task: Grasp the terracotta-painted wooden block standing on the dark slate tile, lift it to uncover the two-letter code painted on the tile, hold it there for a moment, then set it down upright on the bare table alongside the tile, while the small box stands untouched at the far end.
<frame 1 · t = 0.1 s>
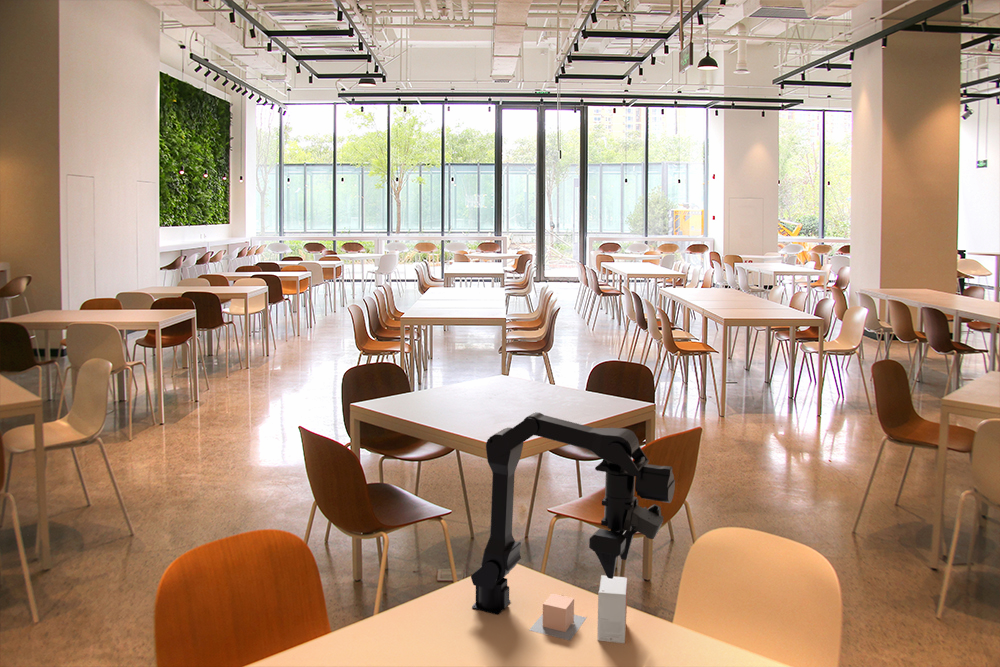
hand: (617, 568, 154), 15 cm above the table, tool pointing down, fingers open, 9 cm apart
small box: (612, 633, 158), on the table
block: (558, 623, 161), resting on code tile
code tile: (558, 624, 161), on the table
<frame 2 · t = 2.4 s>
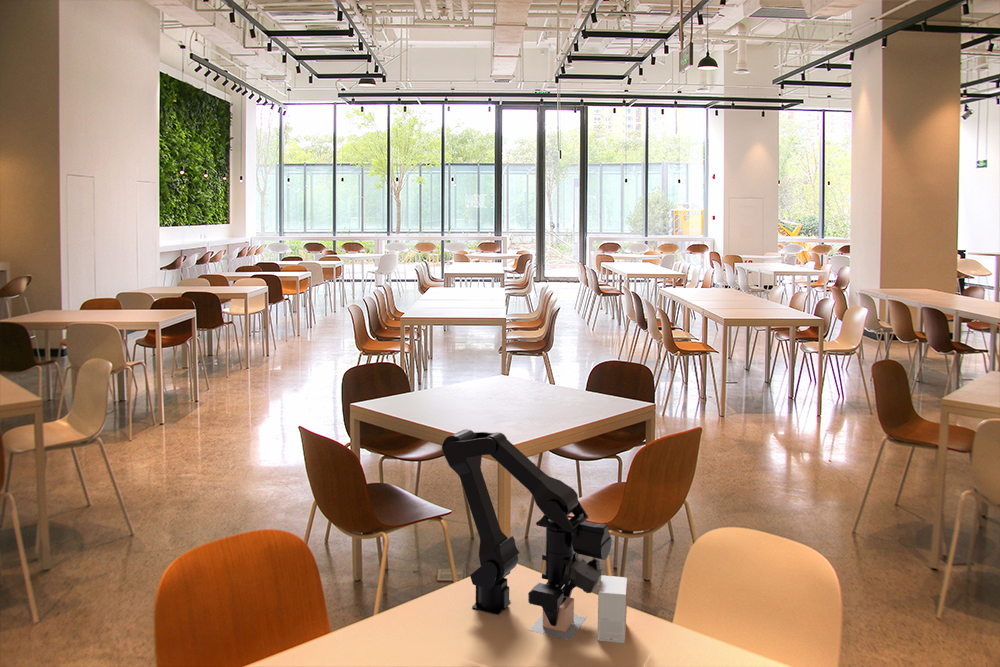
hand: (558, 619, 160), 1 cm above the table, tool pointing down, fingers closed on block, 5 cm apart
block: (558, 623, 161), resting on code tile, touching gripper
everything else where it was.
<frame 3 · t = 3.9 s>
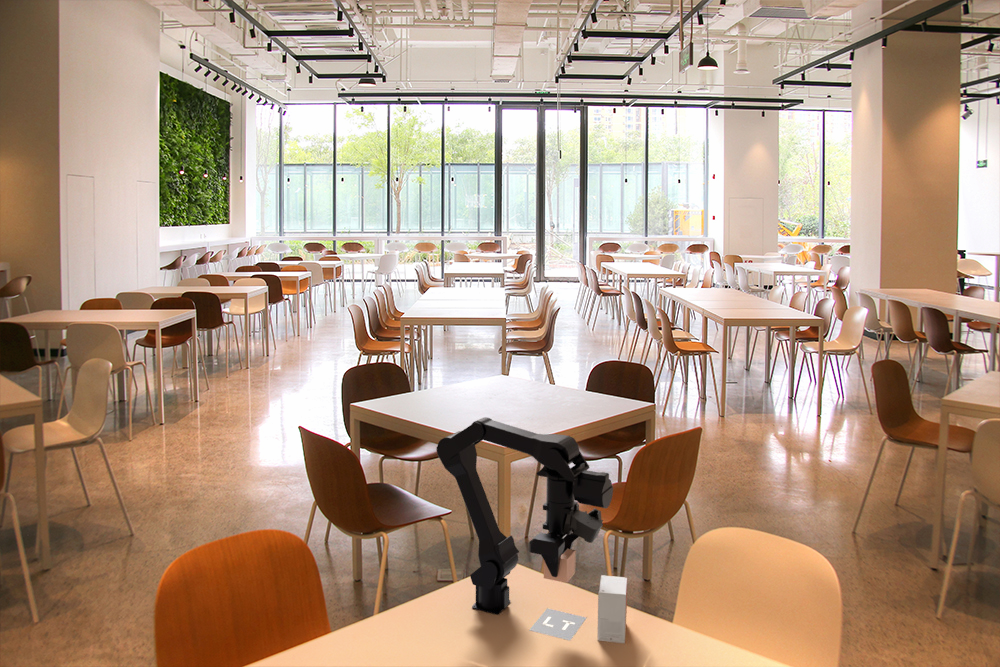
hand: (559, 571, 159), 12 cm above the table, tool pointing down, fingers closed on block, 5 cm apart
block: (559, 575, 159), point 11 cm above the table, touching gripper
everything else where it was.
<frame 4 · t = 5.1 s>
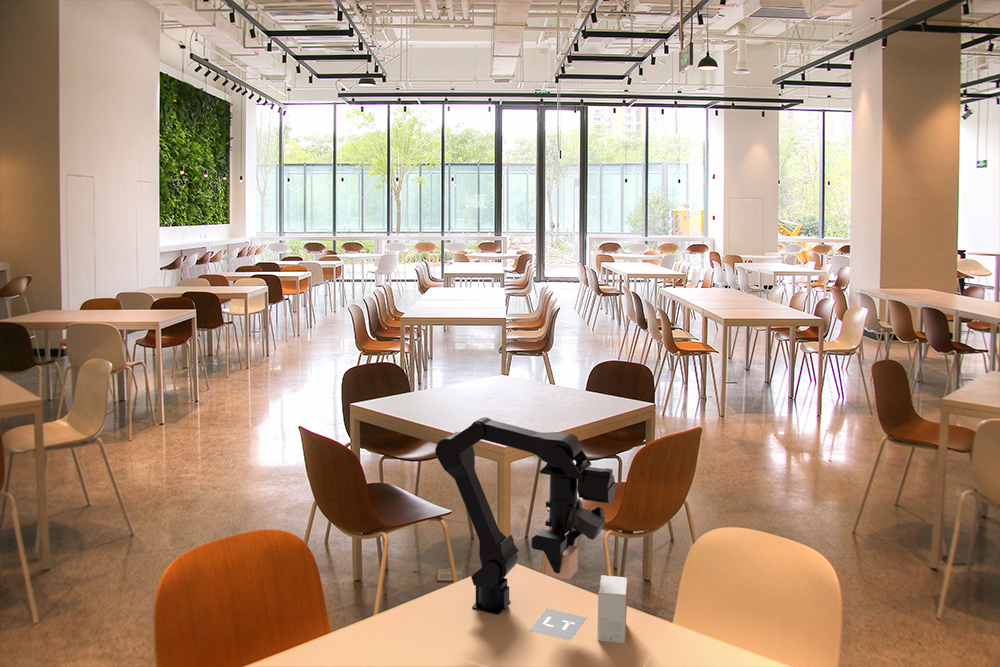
hand: (561, 567, 160), 12 cm above the table, tool pointing down, fingers closed on block, 5 cm apart
block: (562, 572, 160), point 11 cm above the table, touching gripper
everything else where it was.
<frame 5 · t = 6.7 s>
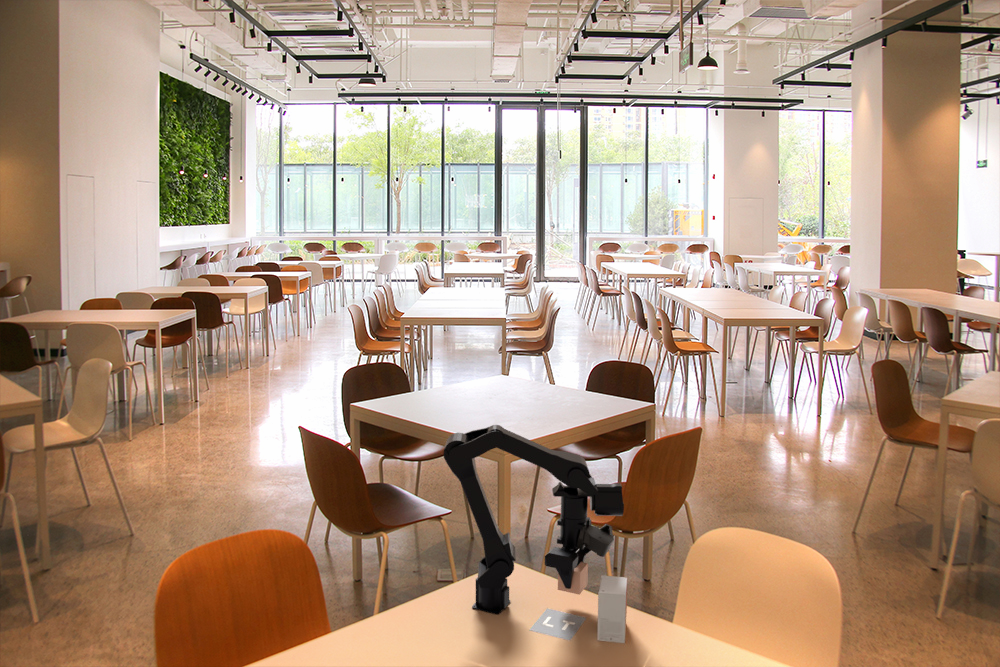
hand: (572, 583, 167), 5 cm above the table, tool pointing down, fingers closed on block, 5 cm apart
block: (572, 587, 168), point 5 cm above the table, touching gripper
everything else where it was.
when the fingers open (2 cm above the table, at t = 8.1 s): block drops 1 cm, on the table.
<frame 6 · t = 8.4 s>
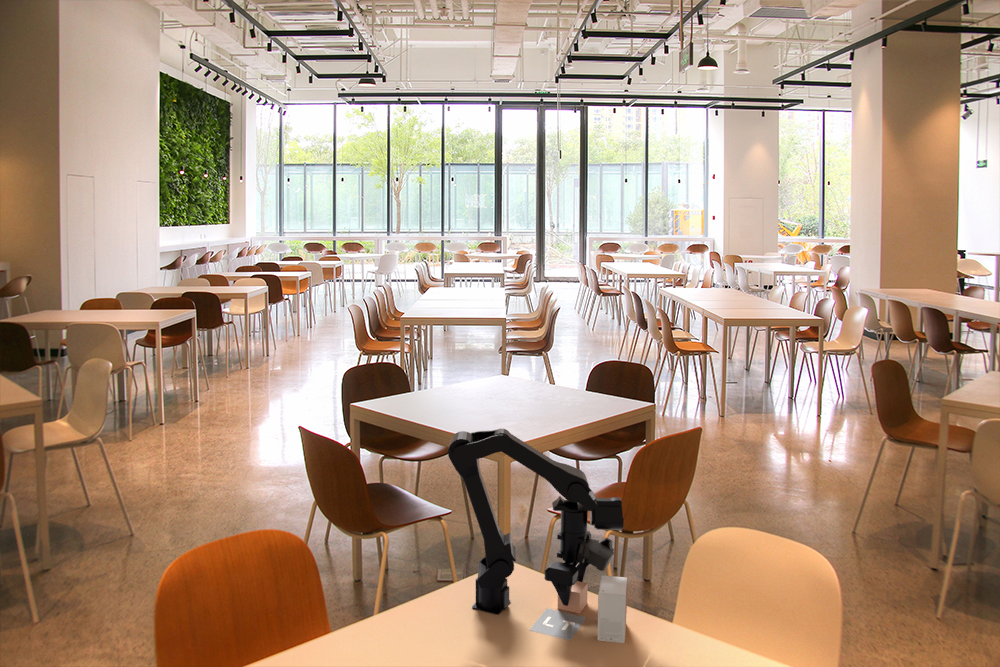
hand: (572, 596, 168), 2 cm above the table, tool pointing down, fingers open, 8 cm apart
block: (572, 607, 168), on the table
everything else where it was.
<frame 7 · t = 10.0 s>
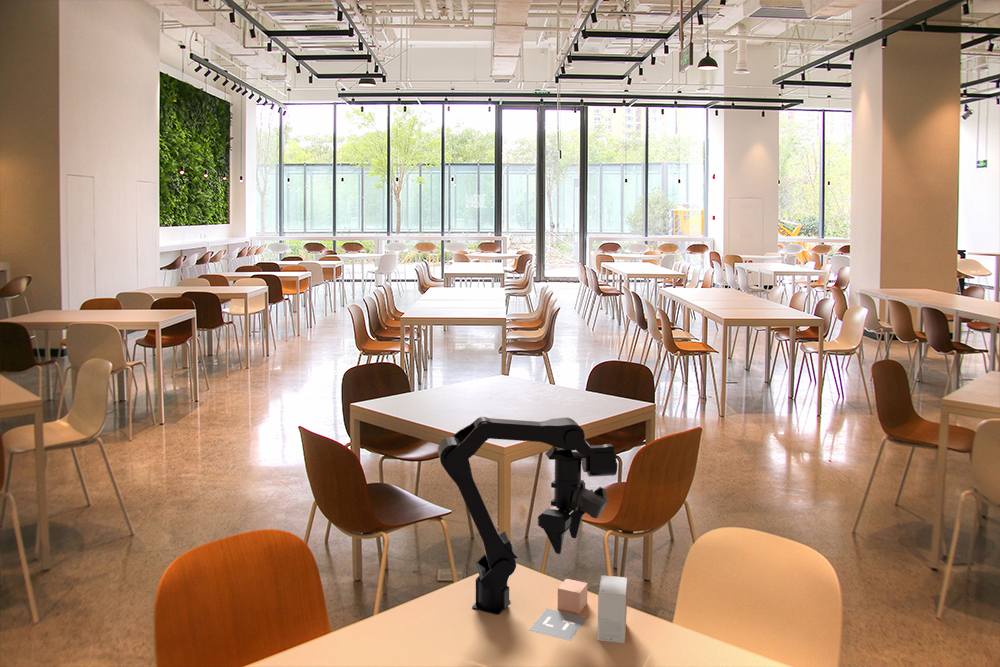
hand: (566, 545, 169), 13 cm above the table, tool pointing down, fingers open, 9 cm apart
nothing on the table moved.
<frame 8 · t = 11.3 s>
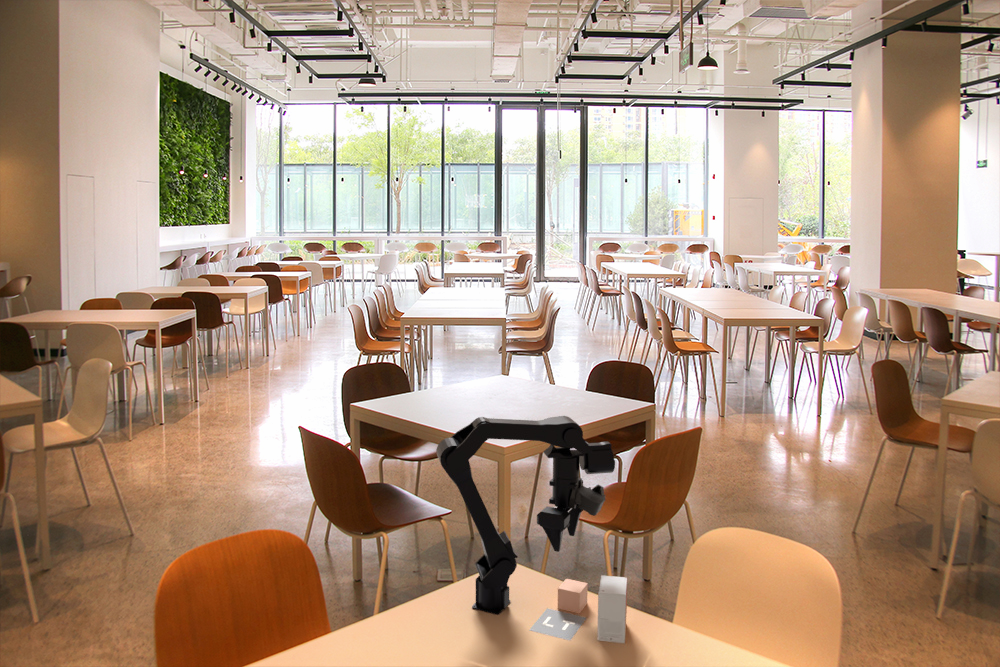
hand: (564, 543, 170), 13 cm above the table, tool pointing down, fingers open, 9 cm apart
nothing on the table moved.
at the end: block inside the target area (0.2 cm from its centre), on the table; block touching table; block tilted 0° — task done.
